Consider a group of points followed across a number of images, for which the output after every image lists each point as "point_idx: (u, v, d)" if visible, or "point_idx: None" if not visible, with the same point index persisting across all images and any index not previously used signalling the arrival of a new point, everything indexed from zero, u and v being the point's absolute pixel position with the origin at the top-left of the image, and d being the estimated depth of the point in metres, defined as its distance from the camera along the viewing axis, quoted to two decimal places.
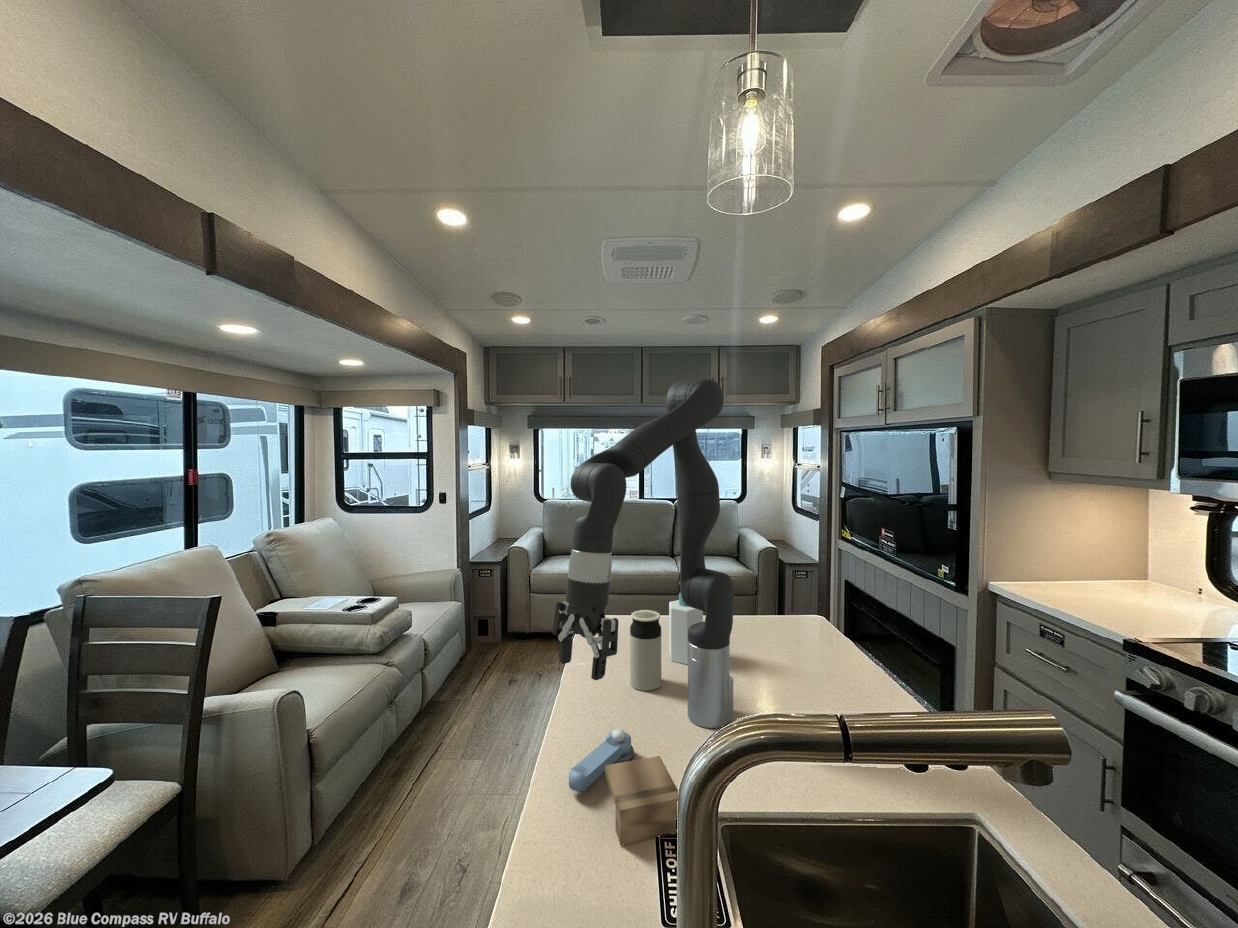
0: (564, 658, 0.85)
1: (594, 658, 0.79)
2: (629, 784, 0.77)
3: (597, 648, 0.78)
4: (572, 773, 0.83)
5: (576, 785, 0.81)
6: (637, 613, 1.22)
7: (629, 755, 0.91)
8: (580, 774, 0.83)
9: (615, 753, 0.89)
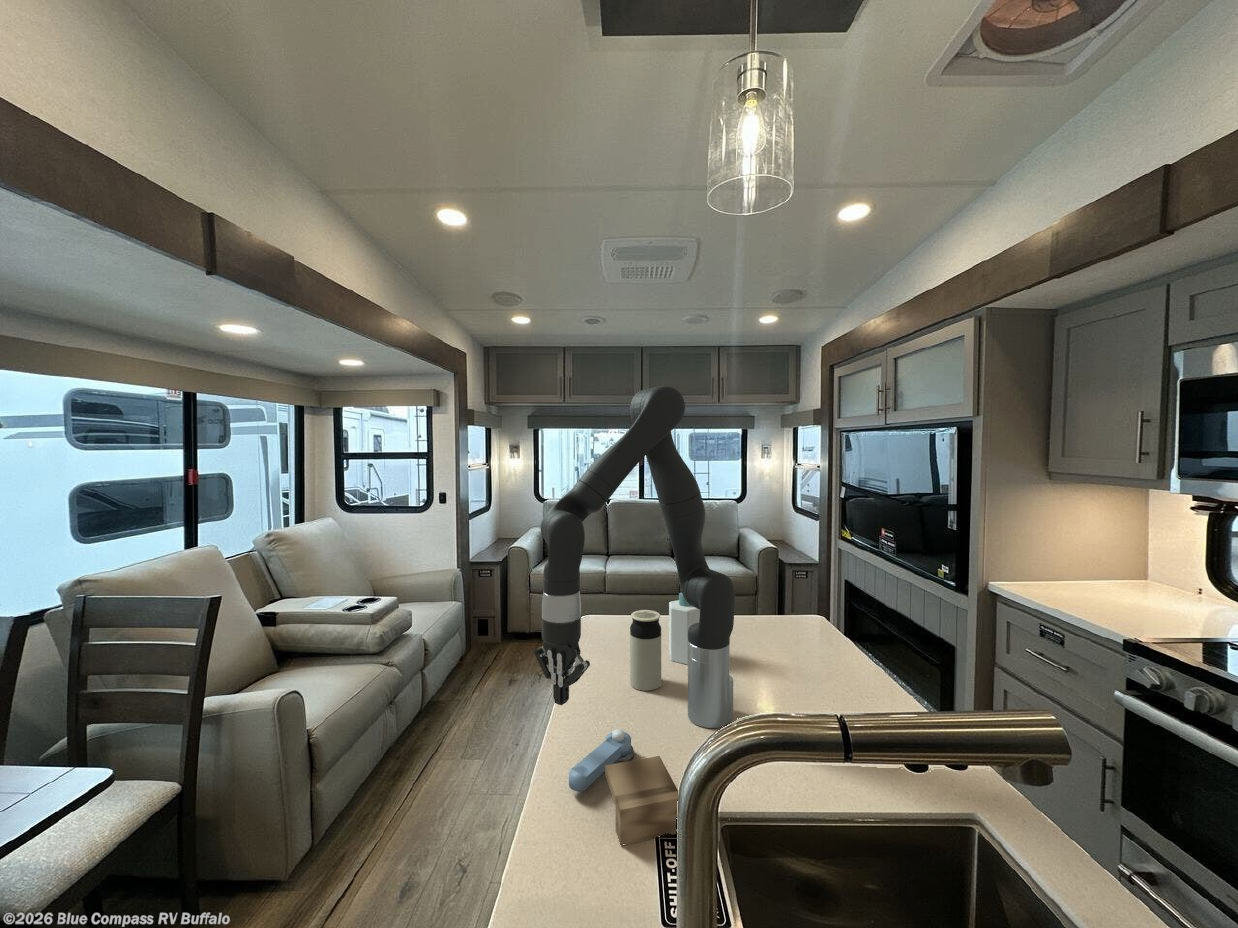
0: None
1: (558, 687, 0.91)
2: (629, 784, 0.77)
3: (563, 681, 0.90)
4: (572, 773, 0.83)
5: (576, 785, 0.81)
6: (637, 613, 1.22)
7: (629, 755, 0.91)
8: (580, 774, 0.83)
9: (615, 753, 0.89)
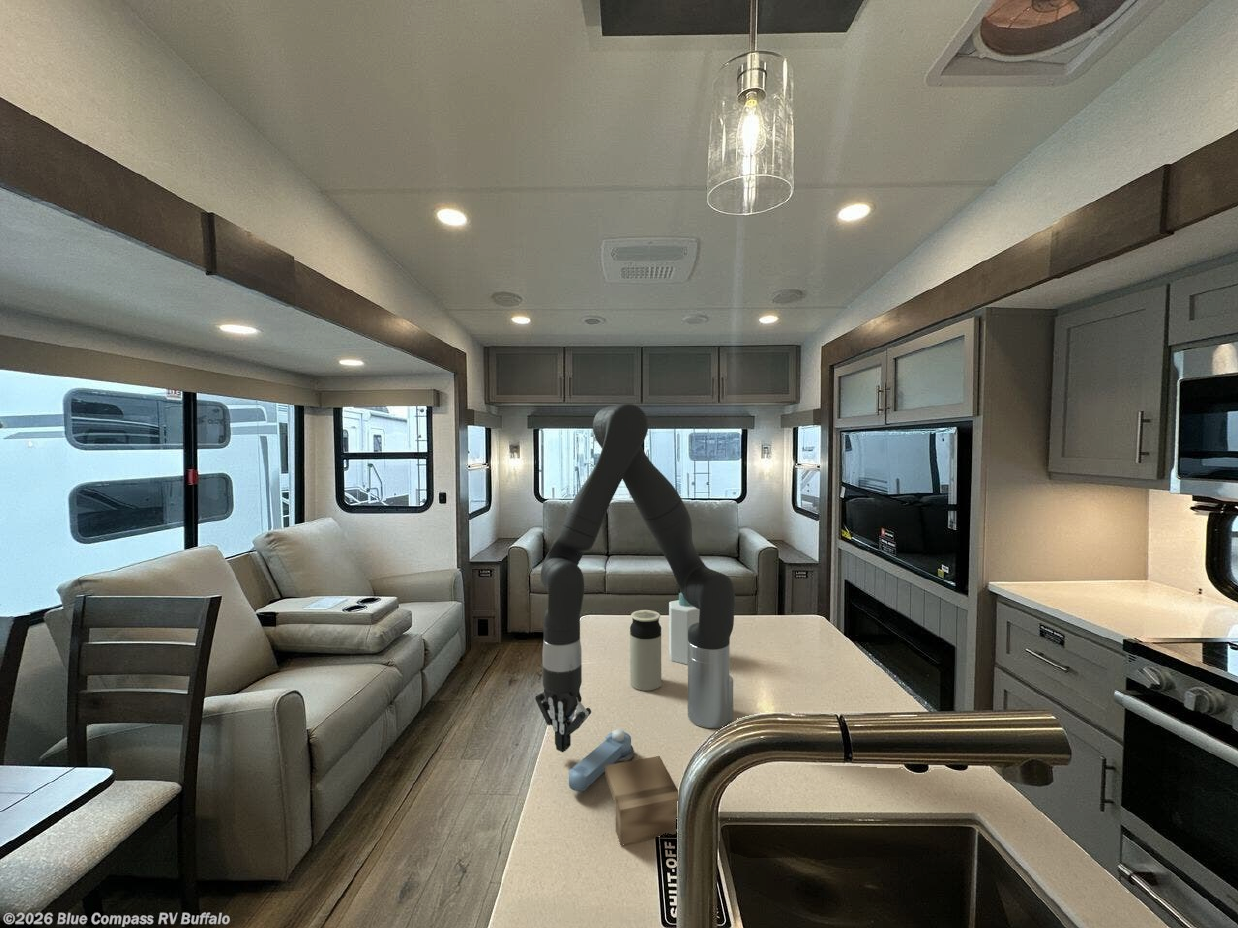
0: None
1: (560, 734, 0.91)
2: (629, 784, 0.77)
3: (564, 728, 0.90)
4: (572, 773, 0.83)
5: (576, 785, 0.81)
6: (637, 613, 1.22)
7: (629, 755, 0.91)
8: (580, 774, 0.83)
9: (615, 753, 0.89)
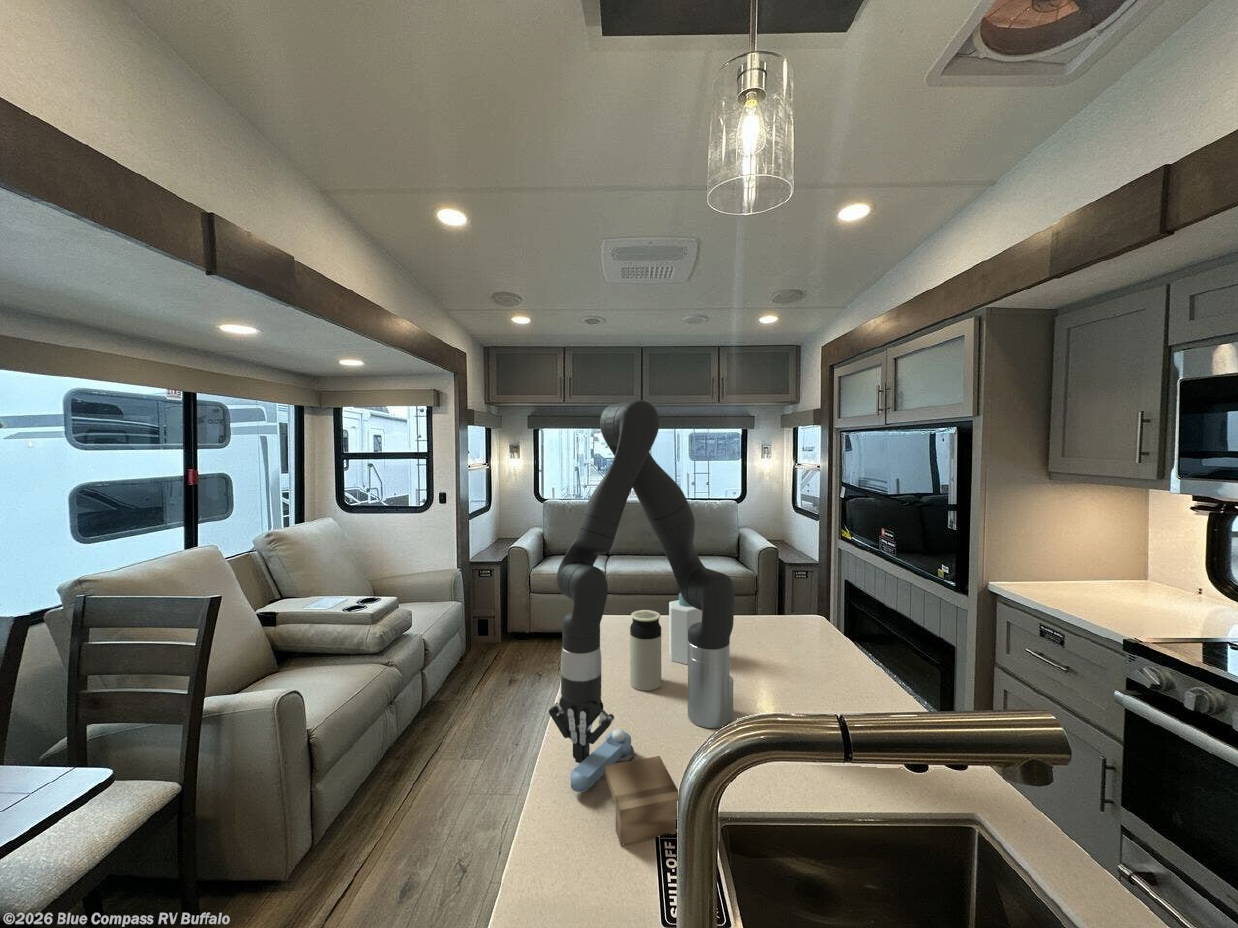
0: None
1: (580, 745, 0.87)
2: (629, 784, 0.77)
3: (585, 738, 0.87)
4: (574, 774, 0.83)
5: (578, 786, 0.81)
6: (637, 613, 1.22)
7: (629, 755, 0.91)
8: (582, 775, 0.83)
9: (616, 753, 0.89)
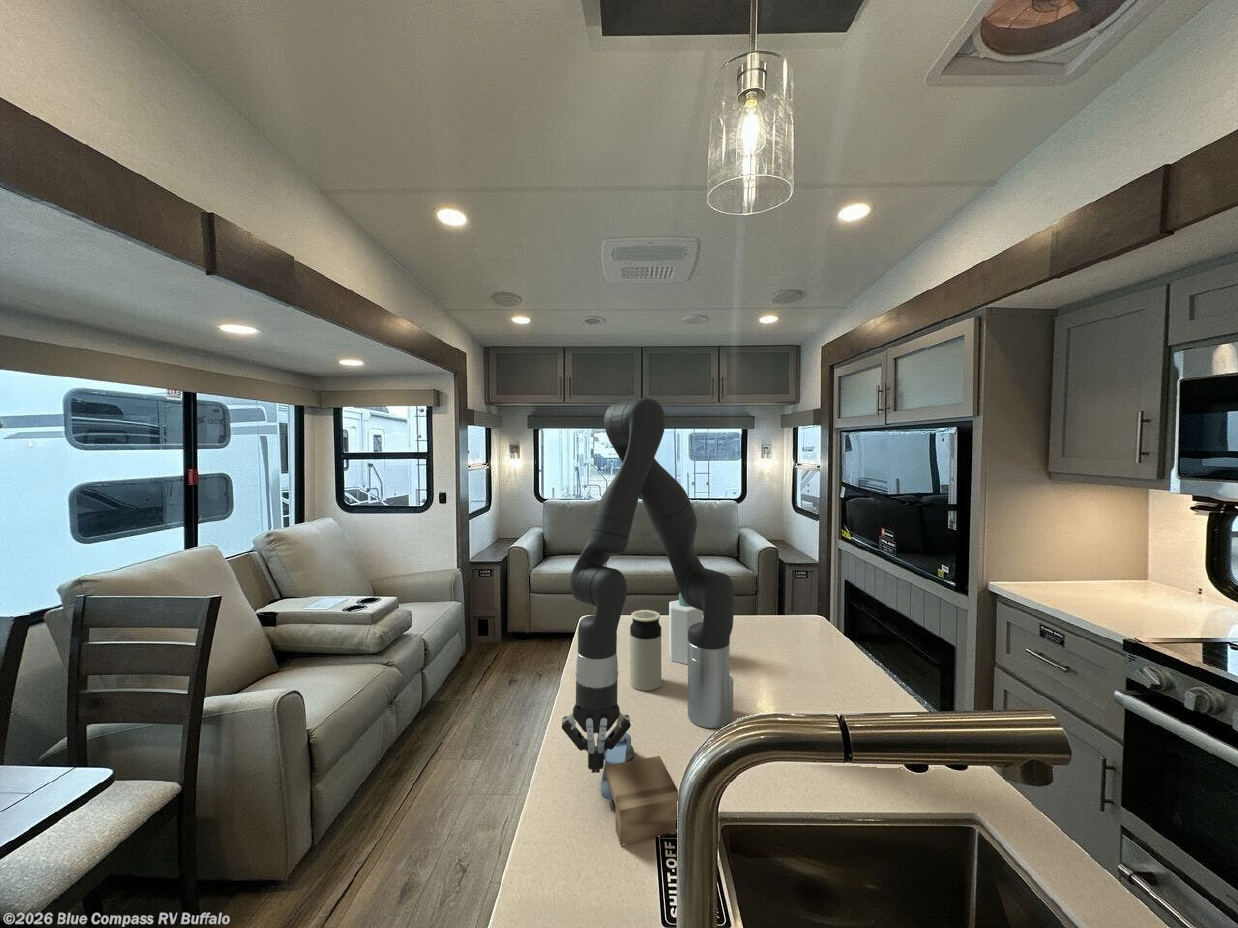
0: None
1: (598, 754, 0.85)
2: (629, 784, 0.77)
3: (604, 745, 0.85)
4: (606, 784, 0.80)
5: None
6: (637, 613, 1.22)
7: (629, 755, 0.91)
8: None
9: (625, 752, 0.89)
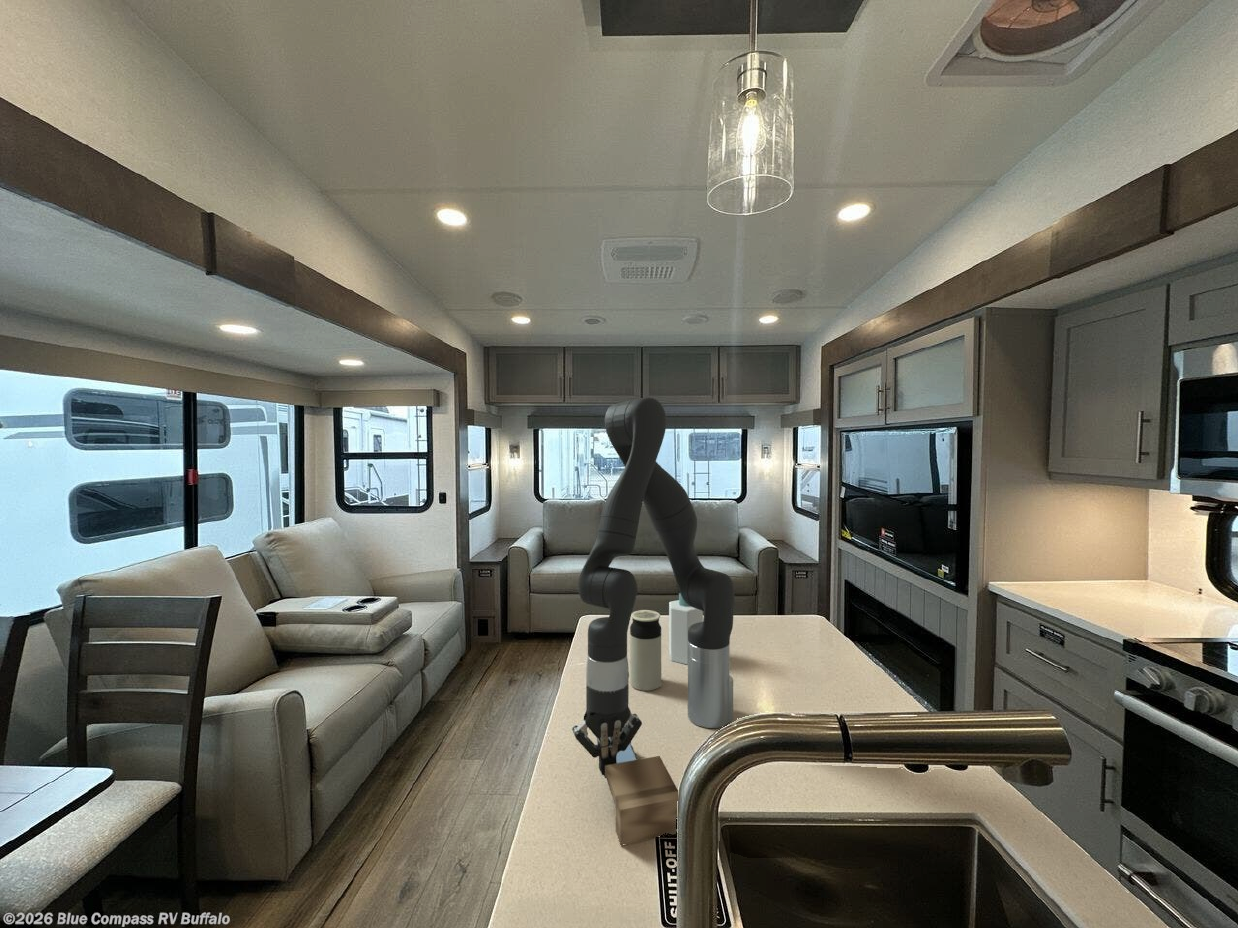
0: None
1: (611, 758, 0.84)
2: (629, 784, 0.77)
3: (617, 748, 0.84)
4: None
5: None
6: (637, 613, 1.22)
7: None
8: None
9: None
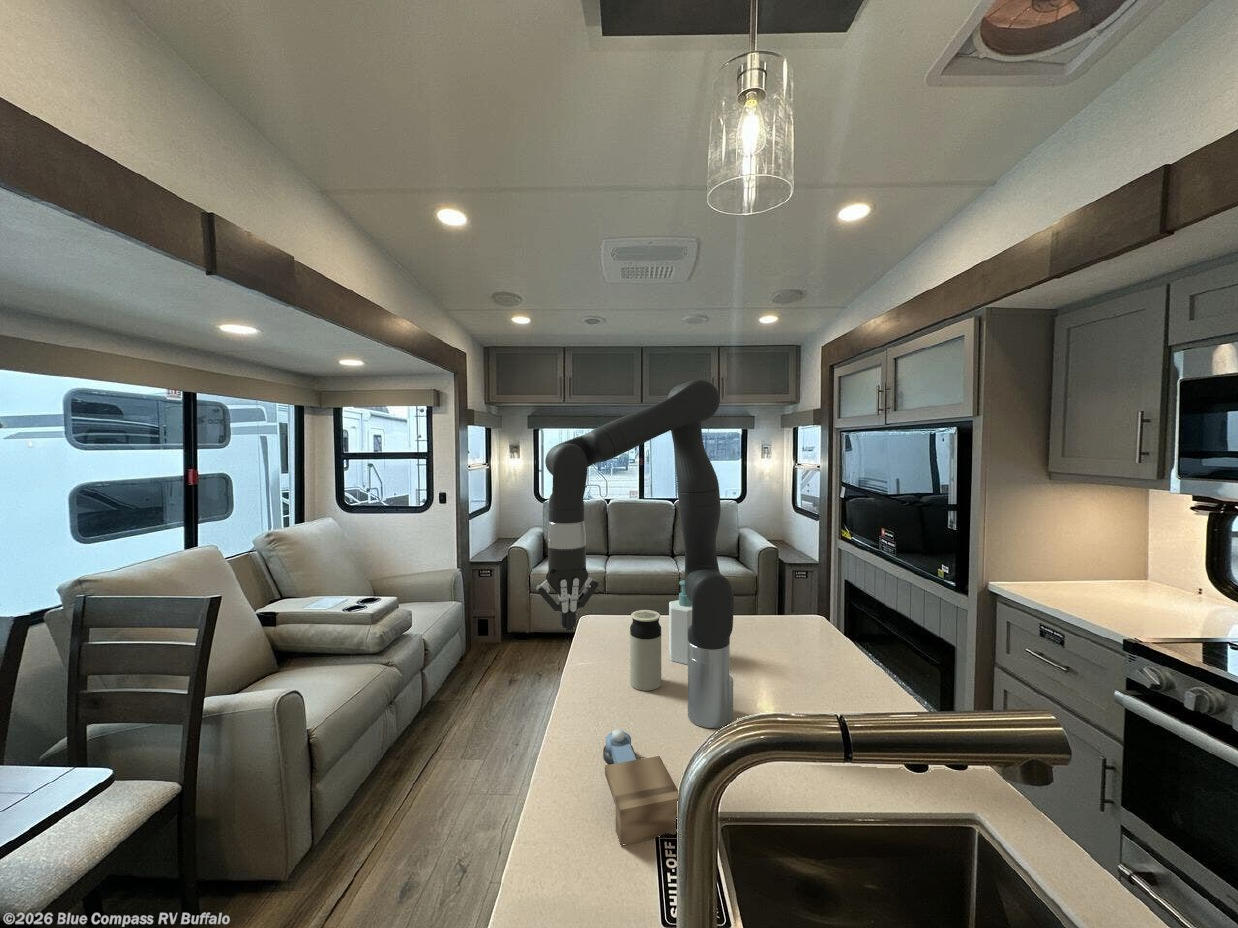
0: None
1: (571, 613, 0.94)
2: (629, 784, 0.77)
3: (576, 604, 0.95)
4: None
5: None
6: (637, 613, 1.22)
7: None
8: None
9: None
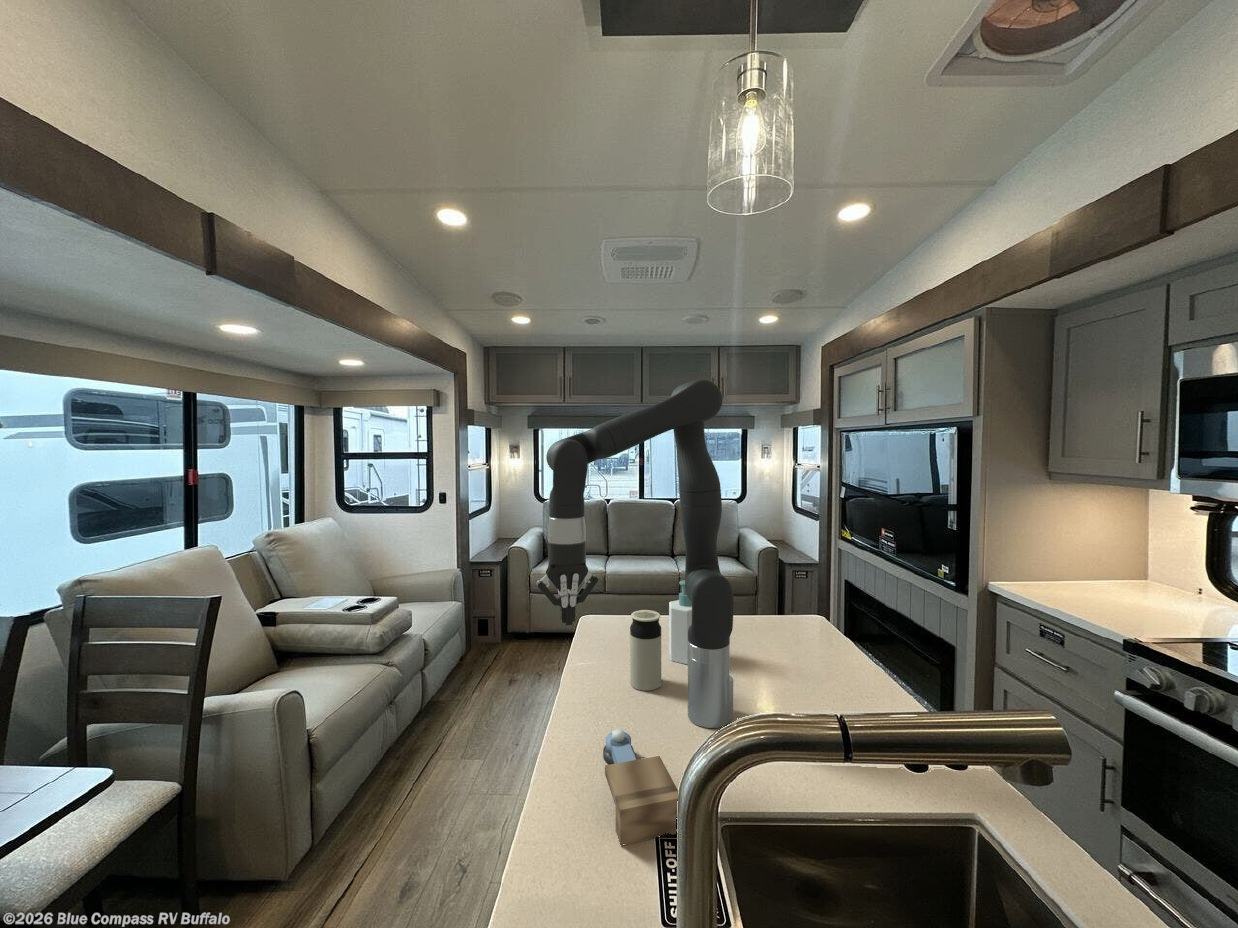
0: None
1: (570, 608, 0.95)
2: (629, 784, 0.77)
3: (575, 600, 0.95)
4: None
5: None
6: (637, 613, 1.22)
7: None
8: None
9: None
